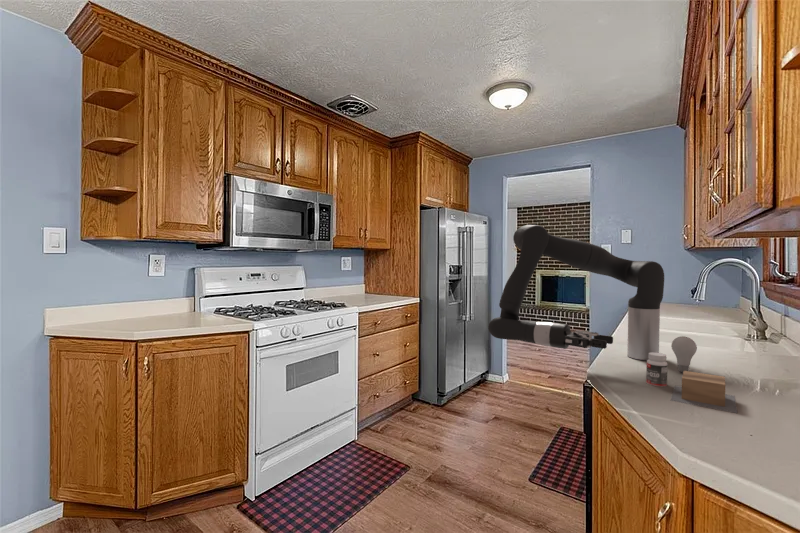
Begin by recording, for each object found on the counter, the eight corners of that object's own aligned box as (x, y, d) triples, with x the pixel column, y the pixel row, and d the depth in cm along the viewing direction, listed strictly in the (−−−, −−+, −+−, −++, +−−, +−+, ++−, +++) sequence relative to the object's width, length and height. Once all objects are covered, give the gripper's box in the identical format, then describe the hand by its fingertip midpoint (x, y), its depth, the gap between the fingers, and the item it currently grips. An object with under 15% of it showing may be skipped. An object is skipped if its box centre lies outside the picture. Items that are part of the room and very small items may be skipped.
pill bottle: (642, 383, 106) (642, 352, 106) (653, 381, 108) (654, 351, 108) (659, 388, 102) (660, 356, 102) (671, 386, 104) (671, 355, 103)
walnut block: (683, 390, 100) (683, 370, 99) (724, 397, 95) (724, 376, 94) (681, 398, 93) (681, 377, 93) (725, 406, 88) (725, 384, 88)
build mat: (674, 387, 103) (674, 385, 103) (734, 397, 96) (734, 395, 96) (670, 401, 92) (670, 400, 92) (737, 414, 85) (737, 413, 85)
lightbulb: (665, 371, 118) (666, 335, 117) (680, 369, 120) (681, 334, 119) (686, 377, 112) (687, 339, 112) (701, 375, 114) (702, 337, 114)
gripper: (544, 325, 116) (604, 332, 106) (559, 320, 127) (615, 326, 117) (543, 350, 116) (603, 360, 106) (558, 343, 127) (614, 351, 117)
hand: (609, 342), depth 112 cm, fingers open, 8 cm apart
